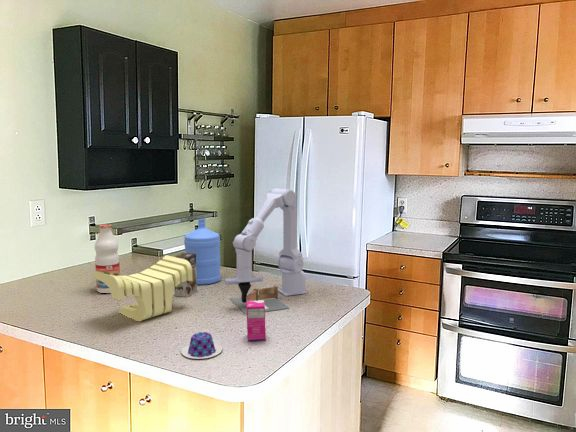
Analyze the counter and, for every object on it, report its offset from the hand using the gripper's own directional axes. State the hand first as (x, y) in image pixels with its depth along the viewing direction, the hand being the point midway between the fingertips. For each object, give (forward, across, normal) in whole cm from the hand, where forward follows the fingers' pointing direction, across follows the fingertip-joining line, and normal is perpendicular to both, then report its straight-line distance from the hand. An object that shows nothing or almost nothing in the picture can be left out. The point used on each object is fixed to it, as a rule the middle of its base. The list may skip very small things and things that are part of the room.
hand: (244, 301), depth 179 cm
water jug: (+2, +6, -42) cm, 43 cm away
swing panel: (+1, -3, -1) cm, 3 cm away
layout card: (+2, -6, -2) cm, 7 cm away
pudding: (+3, +24, +32) cm, 40 cm away
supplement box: (+3, +6, +29) cm, 30 cm away
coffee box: (+2, +17, -26) cm, 31 cm away
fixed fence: (+2, -11, -5) cm, 12 cm away
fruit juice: (+3, +46, -42) cm, 62 cm away
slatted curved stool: (+3, +35, -8) cm, 36 cm away
